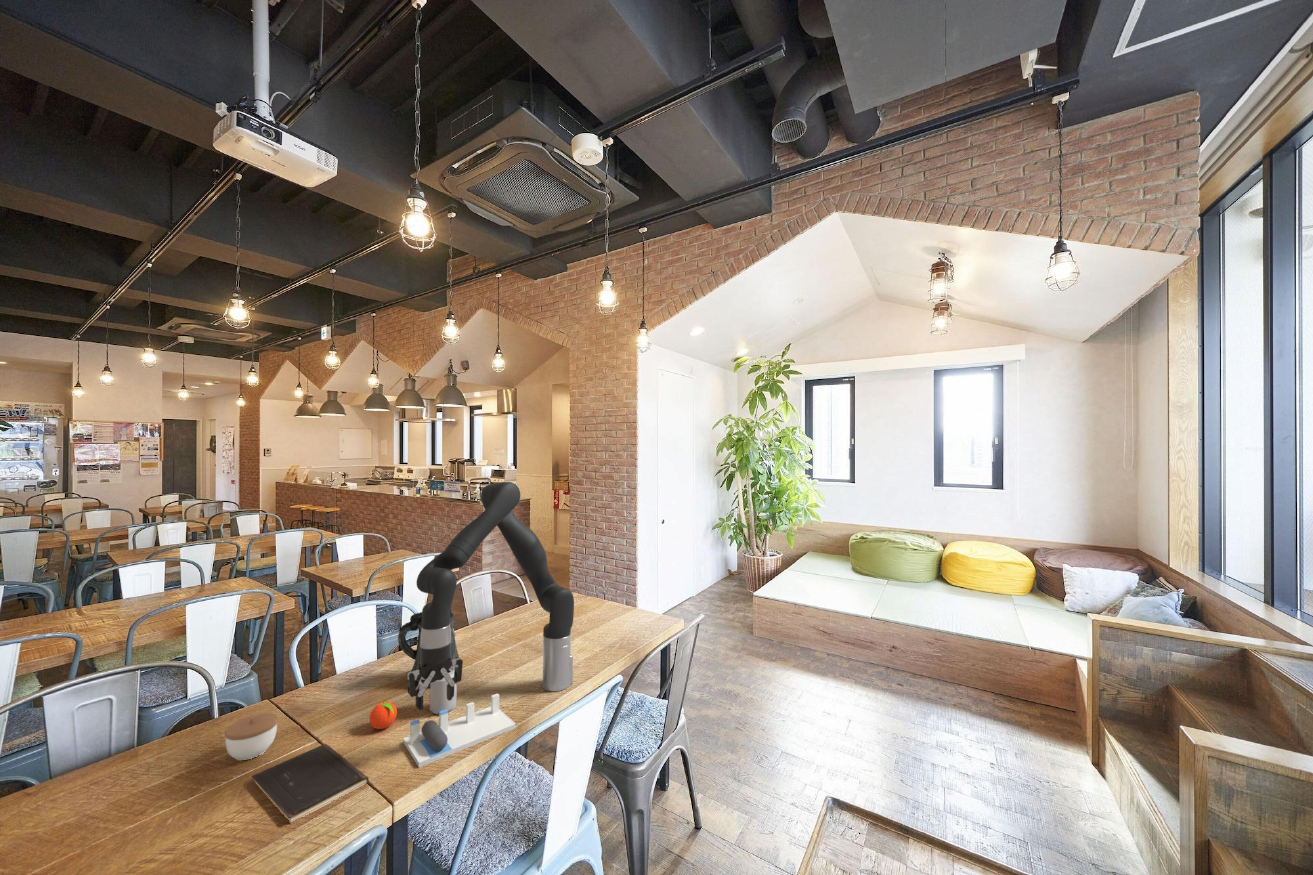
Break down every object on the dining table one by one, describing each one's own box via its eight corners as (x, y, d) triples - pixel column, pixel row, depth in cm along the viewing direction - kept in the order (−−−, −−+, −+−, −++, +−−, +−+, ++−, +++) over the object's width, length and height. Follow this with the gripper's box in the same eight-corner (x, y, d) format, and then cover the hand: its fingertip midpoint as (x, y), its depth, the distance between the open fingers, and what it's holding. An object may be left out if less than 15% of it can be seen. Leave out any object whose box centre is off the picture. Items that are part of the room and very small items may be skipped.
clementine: (404, 724, 140) (405, 700, 140) (382, 737, 134) (382, 711, 134) (386, 718, 143) (386, 694, 144) (363, 730, 137) (364, 705, 137)
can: (446, 717, 144) (447, 676, 144) (424, 714, 146) (425, 674, 146) (461, 704, 151) (461, 665, 152) (440, 701, 153) (440, 663, 153)
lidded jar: (287, 746, 130) (287, 710, 130) (241, 771, 120) (242, 732, 120) (260, 738, 133) (261, 704, 134) (214, 761, 123) (215, 724, 123)
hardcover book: (288, 827, 102) (289, 816, 102) (251, 785, 115) (252, 775, 115) (368, 785, 115) (368, 775, 116) (327, 751, 129) (327, 742, 129)
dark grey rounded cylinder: (419, 735, 132) (419, 721, 132) (435, 729, 135) (434, 715, 135) (434, 756, 123) (433, 740, 123) (450, 749, 126) (449, 733, 126)
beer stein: (471, 674, 172) (472, 603, 173) (419, 697, 156) (421, 619, 156) (443, 663, 181) (444, 596, 182) (391, 684, 164) (393, 610, 165)
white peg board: (495, 708, 149) (495, 686, 149) (515, 727, 138) (515, 704, 139) (403, 742, 131) (403, 717, 132) (418, 767, 121) (419, 740, 121)
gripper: (457, 631, 138) (457, 690, 137) (402, 645, 128) (401, 708, 127) (467, 639, 132) (467, 700, 132) (411, 653, 122) (410, 720, 122)
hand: (435, 704), depth 130 cm, fingers open, 7 cm apart
